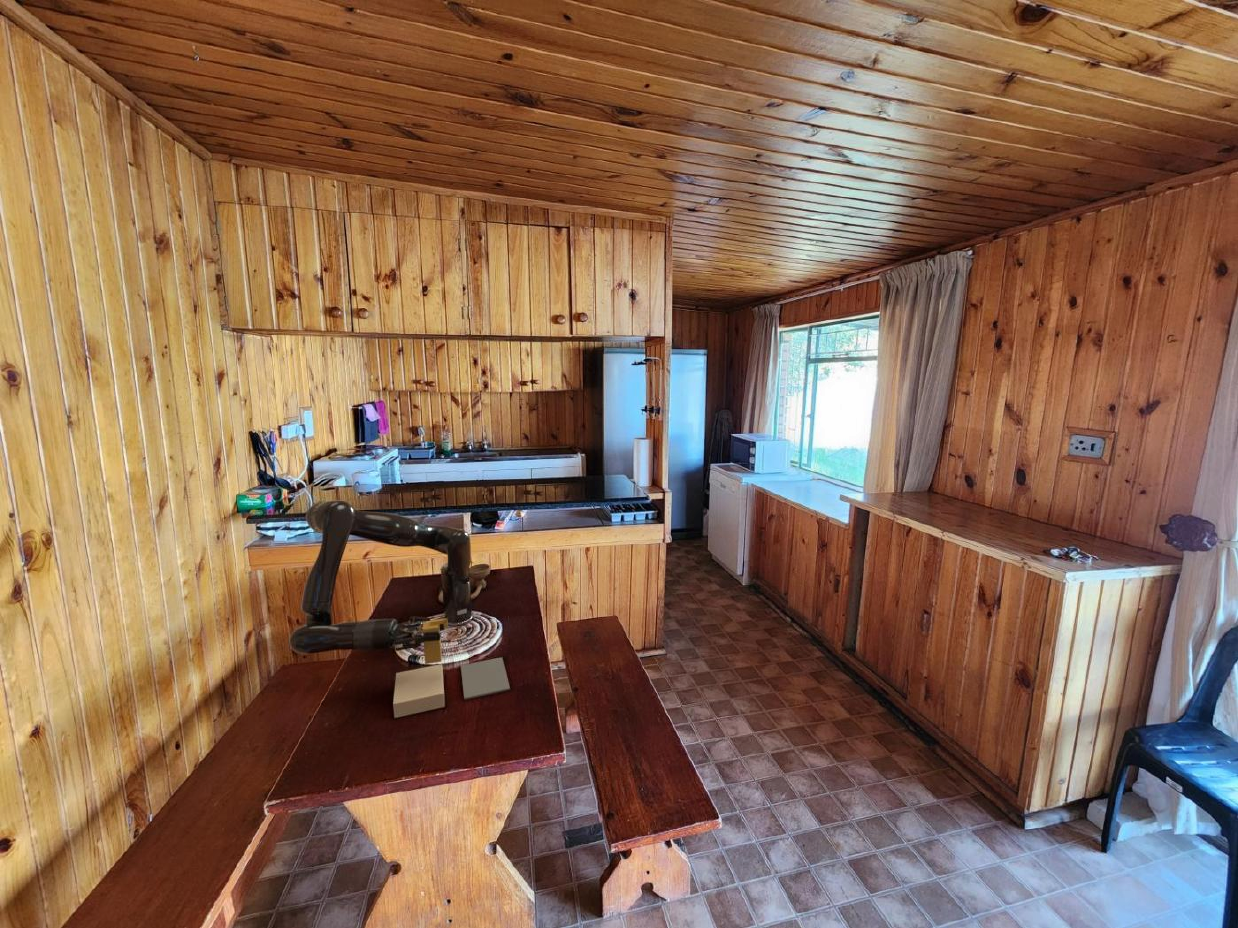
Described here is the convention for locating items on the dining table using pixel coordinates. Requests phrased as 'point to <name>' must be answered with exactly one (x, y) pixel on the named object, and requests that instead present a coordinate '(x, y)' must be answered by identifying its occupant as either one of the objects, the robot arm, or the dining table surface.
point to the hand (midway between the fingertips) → (442, 630)
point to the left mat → (484, 678)
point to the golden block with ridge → (433, 647)
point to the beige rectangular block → (418, 691)
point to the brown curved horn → (475, 573)
